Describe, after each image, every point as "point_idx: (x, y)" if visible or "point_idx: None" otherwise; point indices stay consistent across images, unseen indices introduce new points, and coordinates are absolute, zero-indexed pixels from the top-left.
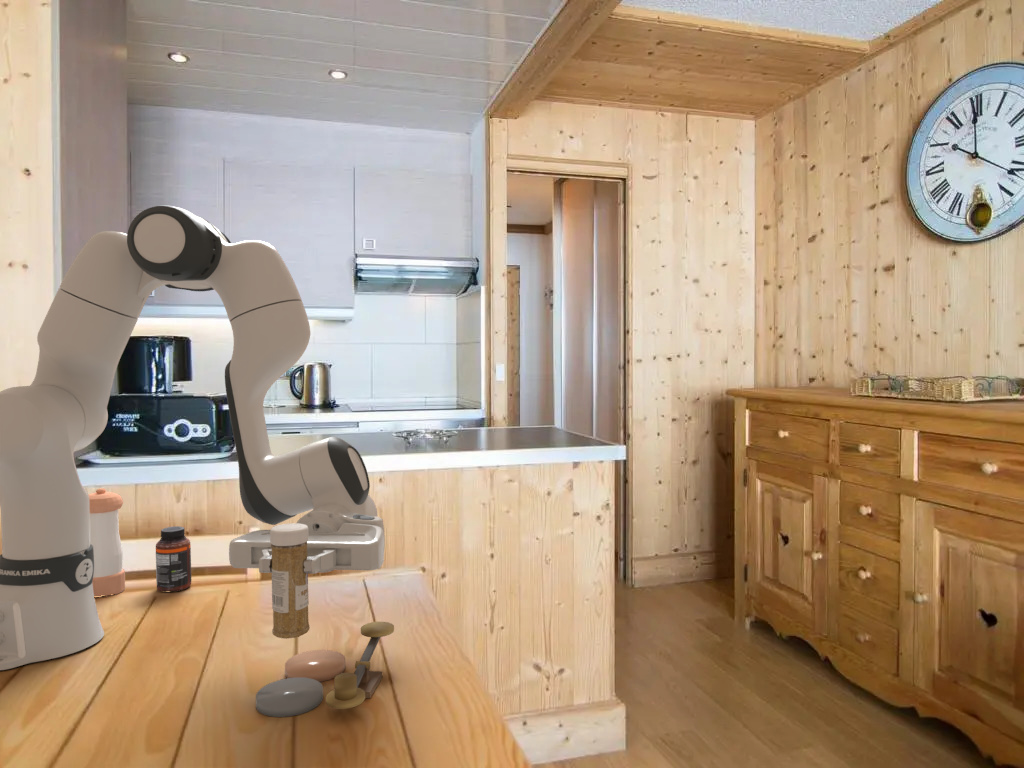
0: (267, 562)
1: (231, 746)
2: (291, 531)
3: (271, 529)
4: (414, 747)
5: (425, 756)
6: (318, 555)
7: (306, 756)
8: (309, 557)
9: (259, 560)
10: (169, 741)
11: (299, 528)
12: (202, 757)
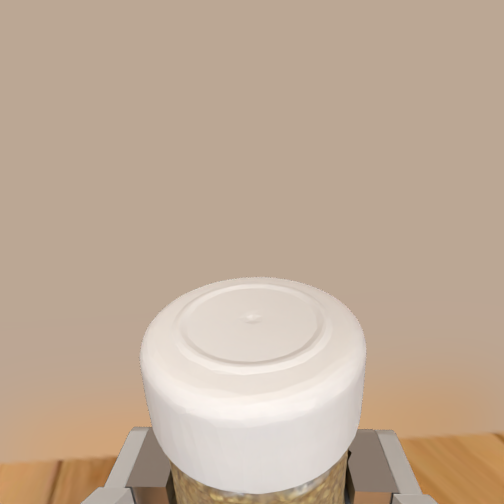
0: None
1: None
2: (217, 282)
3: (330, 295)
4: (45, 489)
5: (41, 467)
6: (109, 499)
7: None
8: (160, 461)
9: (390, 430)
10: None
11: (185, 301)
12: None
